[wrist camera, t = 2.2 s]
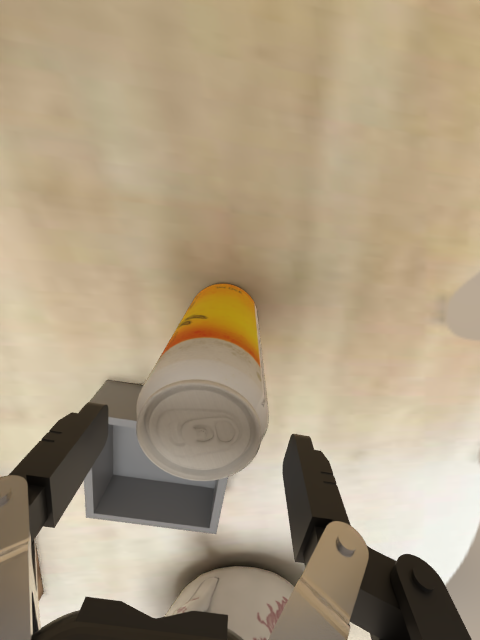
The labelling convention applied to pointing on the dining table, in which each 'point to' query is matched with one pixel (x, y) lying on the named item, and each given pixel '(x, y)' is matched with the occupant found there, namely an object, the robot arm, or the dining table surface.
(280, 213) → the dining table surface
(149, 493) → the box
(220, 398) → the beer can
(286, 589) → the chamber pot
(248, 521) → the dining table surface
